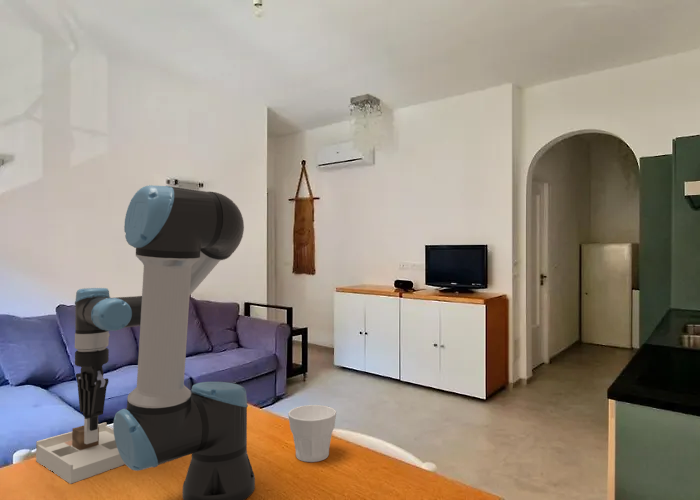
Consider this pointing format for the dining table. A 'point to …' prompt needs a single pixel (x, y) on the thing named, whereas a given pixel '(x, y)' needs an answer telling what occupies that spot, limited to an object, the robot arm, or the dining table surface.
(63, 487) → the dining table surface
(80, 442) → the block
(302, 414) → the cup
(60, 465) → the tray
